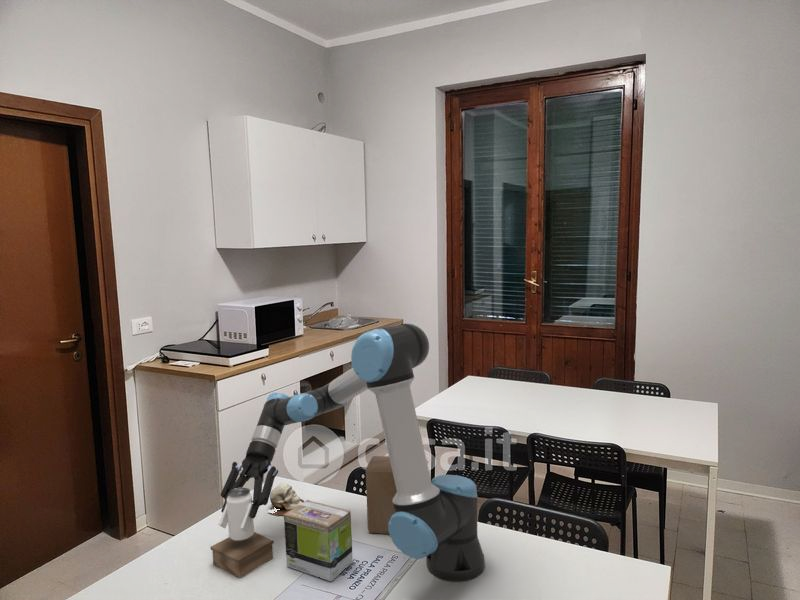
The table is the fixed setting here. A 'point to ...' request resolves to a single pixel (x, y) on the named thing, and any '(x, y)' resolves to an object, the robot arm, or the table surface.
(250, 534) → the can
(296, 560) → the tea box
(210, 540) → the table surface
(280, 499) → the skull
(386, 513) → the block
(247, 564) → the pedestal
